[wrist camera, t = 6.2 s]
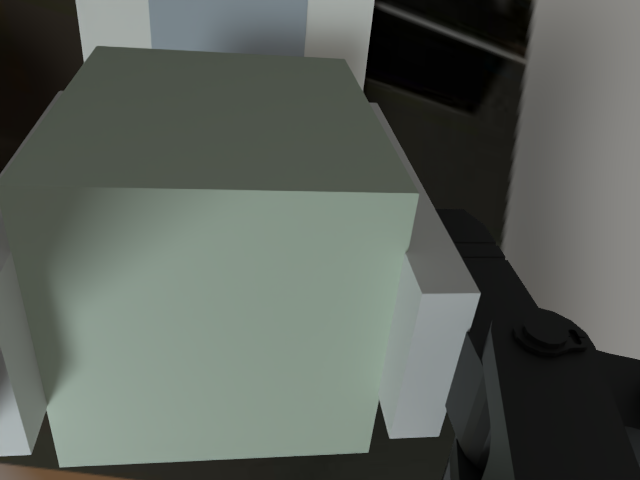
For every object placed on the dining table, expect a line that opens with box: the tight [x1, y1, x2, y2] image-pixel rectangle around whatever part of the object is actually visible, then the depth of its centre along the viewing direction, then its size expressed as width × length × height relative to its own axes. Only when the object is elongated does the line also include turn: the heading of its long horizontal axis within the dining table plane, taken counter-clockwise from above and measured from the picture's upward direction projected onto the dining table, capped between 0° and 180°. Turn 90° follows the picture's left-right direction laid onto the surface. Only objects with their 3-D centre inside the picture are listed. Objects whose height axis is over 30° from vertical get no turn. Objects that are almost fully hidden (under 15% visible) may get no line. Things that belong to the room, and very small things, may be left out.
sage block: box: [0, 46, 419, 467], centre depth 11 cm, size 5×5×6 cm
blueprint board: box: [76, 0, 375, 91], centre depth 27 cm, size 15×12×1 cm
